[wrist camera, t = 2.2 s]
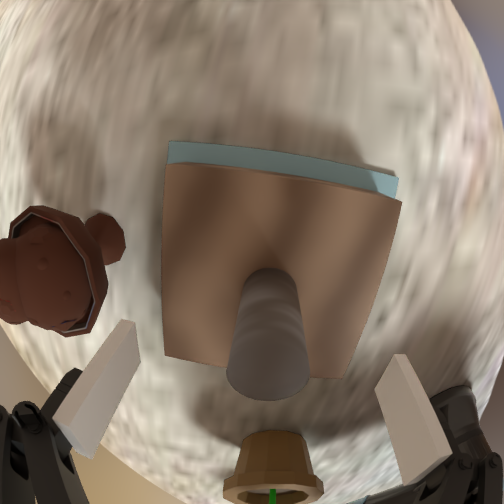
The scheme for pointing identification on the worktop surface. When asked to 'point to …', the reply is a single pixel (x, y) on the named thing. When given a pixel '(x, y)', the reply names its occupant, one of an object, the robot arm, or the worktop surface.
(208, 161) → the mat
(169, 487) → the worktop surface
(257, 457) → the flowerpot
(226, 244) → the lid
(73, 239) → the ice cream bowl
